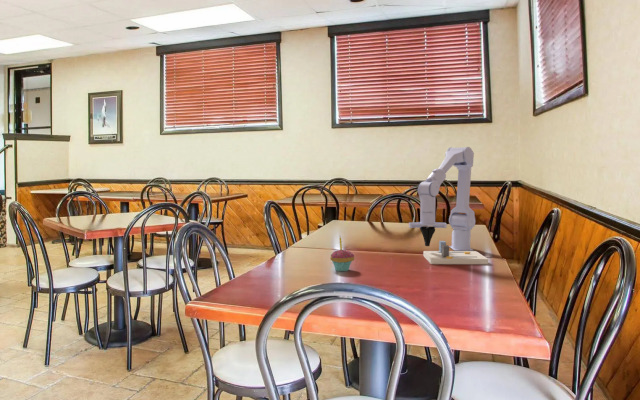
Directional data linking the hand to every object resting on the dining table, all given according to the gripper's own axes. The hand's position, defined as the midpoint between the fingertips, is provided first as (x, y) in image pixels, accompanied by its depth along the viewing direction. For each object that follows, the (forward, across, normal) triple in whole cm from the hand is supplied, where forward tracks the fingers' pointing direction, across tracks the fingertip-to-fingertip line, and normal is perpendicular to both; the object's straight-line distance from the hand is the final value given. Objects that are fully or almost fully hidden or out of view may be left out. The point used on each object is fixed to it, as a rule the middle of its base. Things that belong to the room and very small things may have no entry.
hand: (427, 245), depth 183 cm
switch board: (+5, +10, -5) cm, 12 cm away
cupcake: (+5, -34, -22) cm, 41 cm away
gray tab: (+2, +5, -9) cm, 11 cm away
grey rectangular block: (+2, +6, 0) cm, 6 cm away
